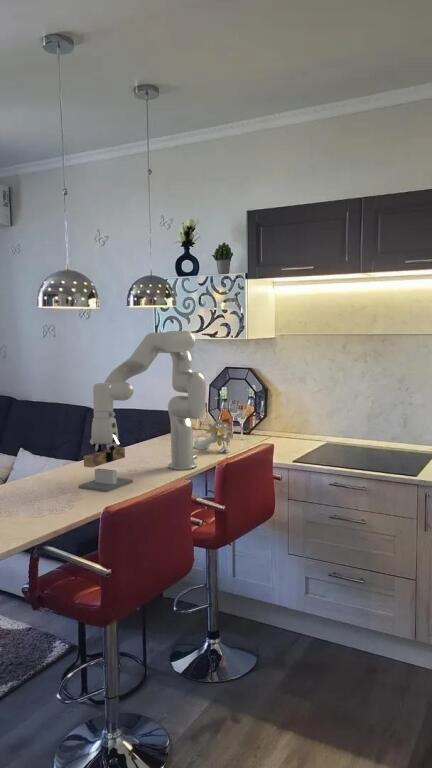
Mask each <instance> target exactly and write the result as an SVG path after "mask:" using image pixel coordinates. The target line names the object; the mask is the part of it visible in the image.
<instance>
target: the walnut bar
mask: <svg viewBox="0 0 432 768" xmlns="http://www.w3.org/2000/svg"><path fill="white" fill-rule="evenodd" d="M125 450H126V448H125V447H123V446H122V447H120V446H117V447H116V448H115V449H114V451H113V461H112V462H116V461H118V460H122V459H124V458H126V452H125ZM106 452H108V451H107V449H103V451H101V452H97V451H96V452H94V453H90V454H87V455H83V467H84V468H90V469H92V468H95V467H99V466H101V465H105V464H108V463H110V462H107V459H106Z"/></svg>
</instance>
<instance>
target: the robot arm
mask: <svg viewBox="0 0 432 768" xmlns="http://www.w3.org/2000/svg"><path fill="white" fill-rule="evenodd" d="M195 337H196V336H195V335H194V333H192V332H191V331H189V330H169V331H165V332H161V331H160V332H149V333H148V334H146V335H145V336H144V338H143V339H142V340H141V341H140V343H139V344H138V346H137V347H136V348H135V350H134V351H133V353H132V354H131V355H130V356H129V358H128V359H126V360H124V361H123V362H122V363H121V364H119V365H118V366H116V367H114V369H113V370H112V371H111V372H110V373H109V375H108V376H107V377H106V378H105V380H104V381H103V382H98V383H95V384H94V385H93V387H92V395H93V418H92V423H91V438H90V440H89V443H90V444H91V445H92V447H93V448H94V450H95V452H96V453H97V452H101V451H104V449H103V445H106V450H107V451H108V452H106V459H107V462H109V463H111V462H114V461H113V451H114V449H115V448H116V447H120V442H119V429H118V425H117V420H116V418H115V416H116V413H115V412H114V401H121V402H122V401H125V402H126V401H127V400H129V399H130V398H132V396H133V395H134V388H133V386H132V385H131V384H130V383H129V382H126V381H128V380H129V379H130V378H133V377H134V376H136V375H140V374H143V373H144V372H146V371H147V370H148V369H149V367H150V366H151V364H152V363H154V360H156V358H157V356H158V355H159V354H169V355H170V356H171V361H172V376H171V377H172V378H171V382H172V383H171V385H172V388H173V391H175V392H177V393H184V394H187V395H175V396H173V397H171V398H170V400H169V401H168V405H167V411H168V415H169V421H170V447H171V448H170V449H171V451H170V453H171V454H170V455H171V462H170V463H168V464H167V466H168V469H171V470H176V471H186V470H192V468H193V469H196V468H197V463H196V462H194V461H195V460H197V459H198V454H194V443H193V441H194V440H193V436H194V434H193V430H194V429H193V424H192V420H199V419H200V418H201V417H203V415H204V413H205V410H206V393H207V392H206V391H207V387H206V386H207V384H206V382H207V381H206V379H205V377H204V376H203V374H202V373H201V372H199V371H193V358H192V355H191V353H190V351H191V350H192V349H193V348H194V347H195V344H196V338H195ZM195 467H196V468H195Z"/></svg>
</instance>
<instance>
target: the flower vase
mask: <svg viewBox="0 0 432 768" xmlns="http://www.w3.org/2000/svg"><path fill="white" fill-rule="evenodd" d="M214 420H215V422H214V423H213V424H212V423H209V422H208V425H207V426H208V428H209V429H207V430H206V432H205V434H210V436H209V437H207V438H206V437H204V436H203V437H202V436H199V437H197V438H196V439H195V440H194V443H193V449H195V448H208V449H210V448H209V447H212V444H215V443H217V445H218V446H219V447H220V446H222V444H223V446H222V447H221V448H220V449H219V450H218V451H217V453H221V452H227V451H233V449H232V448H229V447H228V446H230V442H231V439H232V438H233V436H234V435H233V432H232V429H233V426H232V425H229V422H225V421H224V420H223V419H222V418H219V419H218V418H216V417H214ZM225 425H226V426H225ZM225 443H226V446H225Z"/></svg>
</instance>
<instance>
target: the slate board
mask: <svg viewBox="0 0 432 768" xmlns="http://www.w3.org/2000/svg"><path fill="white" fill-rule="evenodd" d="M117 472H118V471H117V470H115V469H107V468H96V469H94V479H92V480H90V481H86V482H84V483H81V484H78V489H84V490H89V491H90V490H91V491H97V492H104V493H109V492H110V491H114V490H115V489H119V488H121V487H124V486H127V485H129V484H132V483H133V481H134V480H133V479H129V478H123V477H118V475H117V474H118V473H117Z"/></svg>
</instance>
